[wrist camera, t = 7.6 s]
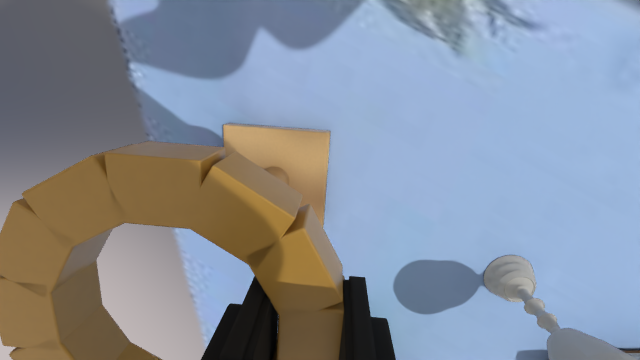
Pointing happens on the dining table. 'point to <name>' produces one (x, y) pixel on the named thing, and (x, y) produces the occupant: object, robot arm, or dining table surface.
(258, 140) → the stand
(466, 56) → the dining table surface
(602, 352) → the chalice
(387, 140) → the dining table surface
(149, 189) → the ring
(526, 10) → the dining table surface
